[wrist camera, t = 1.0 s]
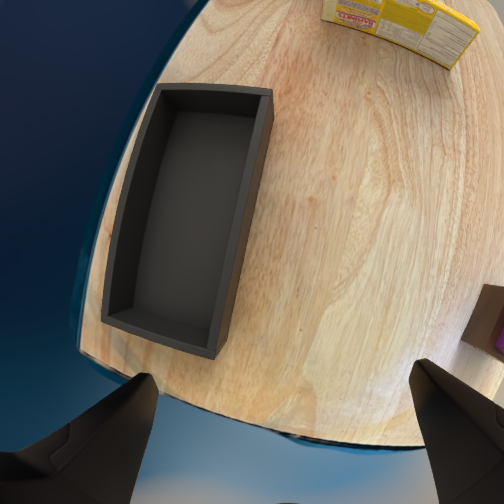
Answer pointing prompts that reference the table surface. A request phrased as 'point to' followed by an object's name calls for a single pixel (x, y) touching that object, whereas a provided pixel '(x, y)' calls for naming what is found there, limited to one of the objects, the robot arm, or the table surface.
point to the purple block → (500, 342)
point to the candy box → (408, 25)
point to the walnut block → (487, 322)
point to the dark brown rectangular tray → (187, 214)
